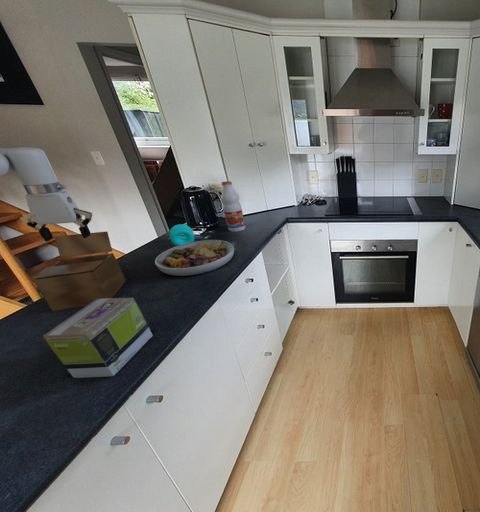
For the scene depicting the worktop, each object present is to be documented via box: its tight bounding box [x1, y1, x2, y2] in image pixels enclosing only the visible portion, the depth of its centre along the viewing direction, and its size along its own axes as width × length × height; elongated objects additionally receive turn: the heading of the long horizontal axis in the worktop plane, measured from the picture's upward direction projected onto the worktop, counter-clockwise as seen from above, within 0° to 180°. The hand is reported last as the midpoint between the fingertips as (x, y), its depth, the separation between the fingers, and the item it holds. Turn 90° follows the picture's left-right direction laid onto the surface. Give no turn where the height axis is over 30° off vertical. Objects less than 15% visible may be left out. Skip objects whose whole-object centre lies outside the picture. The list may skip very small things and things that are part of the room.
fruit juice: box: [220, 180, 246, 233], centre depth 157 cm, size 9×9×28 cm
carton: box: [31, 252, 127, 312], centre depth 98 cm, size 15×16×13 cm
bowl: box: [154, 239, 235, 277], centre depth 123 cm, size 30×30×8 cm
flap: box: [53, 231, 113, 259], centre depth 101 cm, size 15×8×1 cm
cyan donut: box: [169, 223, 196, 247], centre depth 140 cm, size 10×10×10 cm
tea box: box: [42, 297, 154, 379], centre depth 72 cm, size 15×10×15 cm
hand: (68, 238), depth 95 cm, fingers open, 9 cm apart
